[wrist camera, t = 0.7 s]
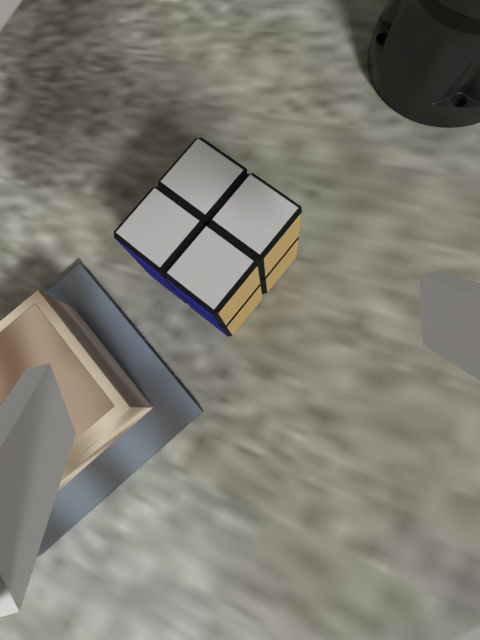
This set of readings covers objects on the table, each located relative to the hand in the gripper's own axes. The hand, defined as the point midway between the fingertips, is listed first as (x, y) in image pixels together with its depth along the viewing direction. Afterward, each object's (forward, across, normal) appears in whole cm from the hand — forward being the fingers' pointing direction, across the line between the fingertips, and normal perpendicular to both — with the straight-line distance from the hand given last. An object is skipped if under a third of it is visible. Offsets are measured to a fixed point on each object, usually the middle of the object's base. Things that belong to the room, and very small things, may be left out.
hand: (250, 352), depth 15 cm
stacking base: (+24, -14, -11) cm, 30 cm away
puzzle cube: (+26, +2, -3) cm, 27 cm away
